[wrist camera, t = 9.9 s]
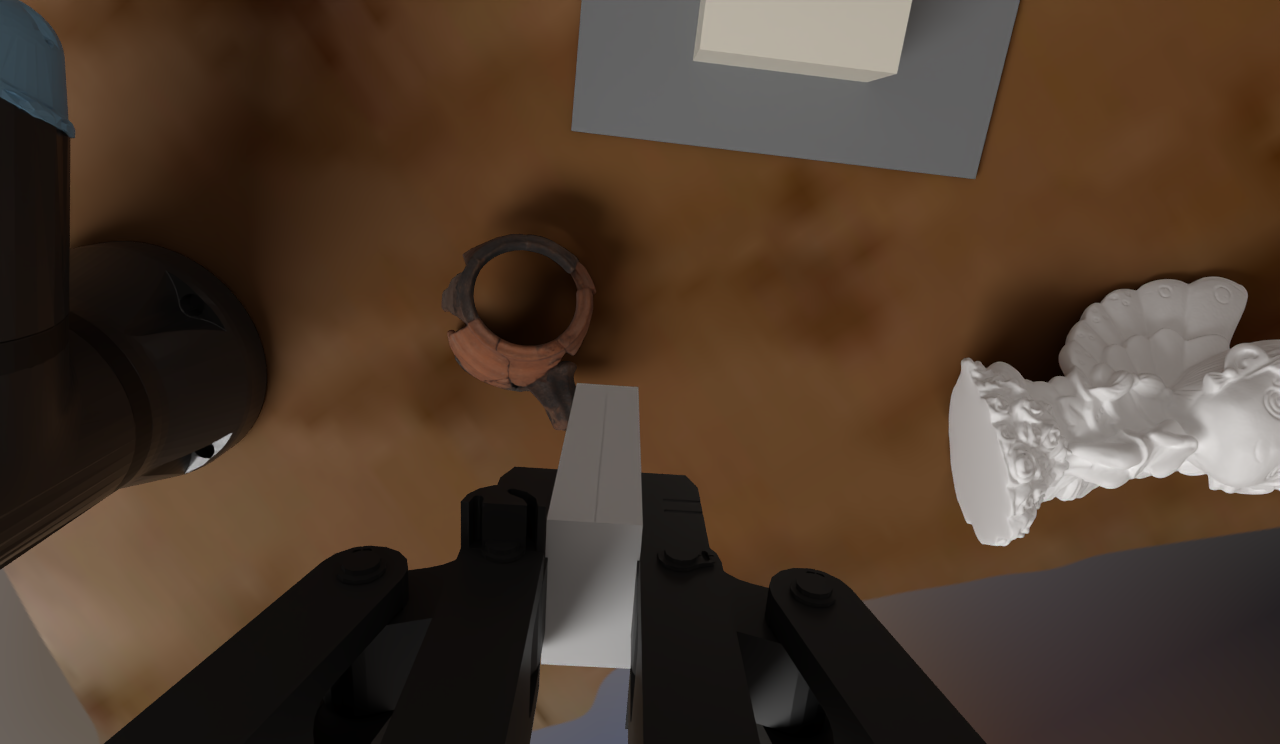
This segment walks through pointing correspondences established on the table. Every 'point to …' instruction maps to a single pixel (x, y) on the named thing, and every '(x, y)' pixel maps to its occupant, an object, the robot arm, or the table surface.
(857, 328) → the table surface
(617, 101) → the grey mat
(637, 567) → the robot arm
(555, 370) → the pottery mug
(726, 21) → the cream block
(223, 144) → the table surface
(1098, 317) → the cherub figurine
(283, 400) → the table surface
